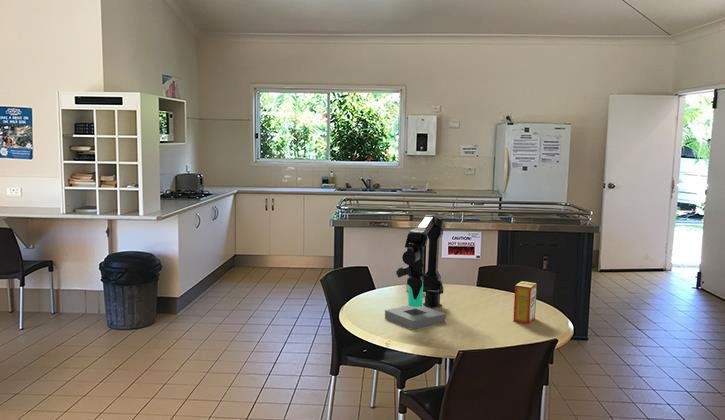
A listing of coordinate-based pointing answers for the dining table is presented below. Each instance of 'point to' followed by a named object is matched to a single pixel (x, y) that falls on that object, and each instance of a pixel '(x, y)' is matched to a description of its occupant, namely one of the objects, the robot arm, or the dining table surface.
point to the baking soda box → (525, 302)
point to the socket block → (415, 316)
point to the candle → (415, 302)
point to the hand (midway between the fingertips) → (415, 297)
